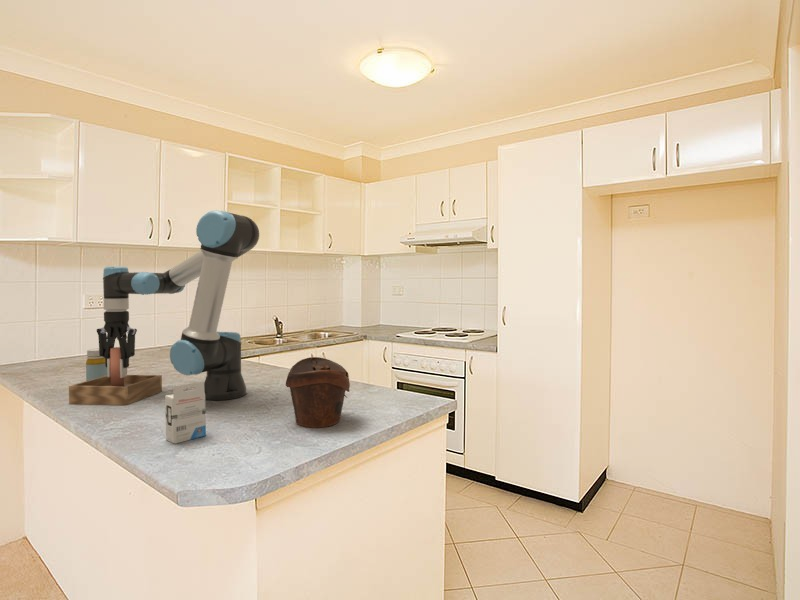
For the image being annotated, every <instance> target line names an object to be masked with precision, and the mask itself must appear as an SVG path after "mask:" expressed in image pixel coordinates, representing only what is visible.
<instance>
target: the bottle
mask: <svg viewBox="0 0 800 600" xmlns="http://www.w3.org/2000/svg"><path fill="white" fill-rule="evenodd" d="M86 356H87V359H86V362H85V377H86V378H85V379H86V380H85V381H89V380H92V379H96V378H100V377H103V376H107V367H106V366H105V358H104V357H101V356H100V355H99V348H91V349H87V350H86Z"/></svg>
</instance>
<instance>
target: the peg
mask: <svg viewBox="0 0 800 600" xmlns="http://www.w3.org/2000/svg"><path fill="white" fill-rule="evenodd" d="M121 358H122V355H121V350H120V346H118V347H117V346H114V348H110V368H111V386H121V387H124V377H123V378H120V359H121Z"/></svg>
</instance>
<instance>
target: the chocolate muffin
mask: <svg viewBox="0 0 800 600" xmlns="http://www.w3.org/2000/svg"><path fill="white" fill-rule="evenodd" d="M350 386H351V383H350V376H349V372H348V371H347V369H345V368H344V367H343V366H342V365H341V364H339V363H337V362H336V361H333V360H331V359H329V358H325V357H317V356H316V357H315V356H311V357H307V358H302V359H301V360H299V361H297V362H296V363H295V364H294V365H292V367H290V370H289V371H288V373H287V377H286V381H285V387H287V388H289V391H290V395H291V396H290V397H291V402H292V406H293V411H294V418H295V423H296V424H297V425H298V426H301V427H306V428H312V429H317V428H319V429H320V428H328V427H332V426H334V425H336V424H338V423H339V422H340V420H341V416H342V411H343V407H344V401H345V398H347V395H346V392H348V393H350Z"/></svg>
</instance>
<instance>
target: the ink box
mask: <svg viewBox="0 0 800 600" xmlns="http://www.w3.org/2000/svg"><path fill="white" fill-rule="evenodd" d="M204 382H205V380H201V381H196V382H190V383H183V384H180V385H179V384H178V385H173V386H172V394H166V395H165V396H164V405H165V407H164V408H165V410H164V411H165V438H166V439H165V440H166V441H168V442H170V443H172V444H180V443H183V442H188V441H191V440H195V439H198V438H202V437H205V436H207V427H206V425H207V424H206V423H207V422H206V420H207V419H206V418H207V417H206V416H207V415H206V399H205V391H204ZM188 388H194V389H189V390H185V389H188Z"/></svg>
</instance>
